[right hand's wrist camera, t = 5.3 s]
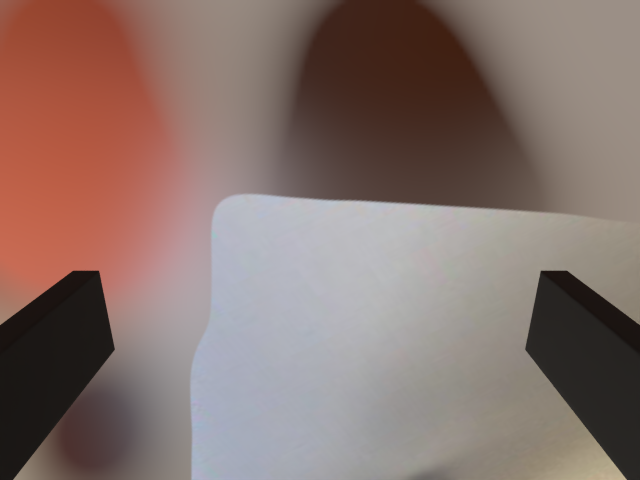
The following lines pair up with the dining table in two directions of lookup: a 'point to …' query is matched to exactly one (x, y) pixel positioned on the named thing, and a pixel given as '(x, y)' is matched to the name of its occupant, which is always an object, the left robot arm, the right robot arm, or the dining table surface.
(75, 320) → the right robot arm
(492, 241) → the dining table surface
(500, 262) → the dining table surface
